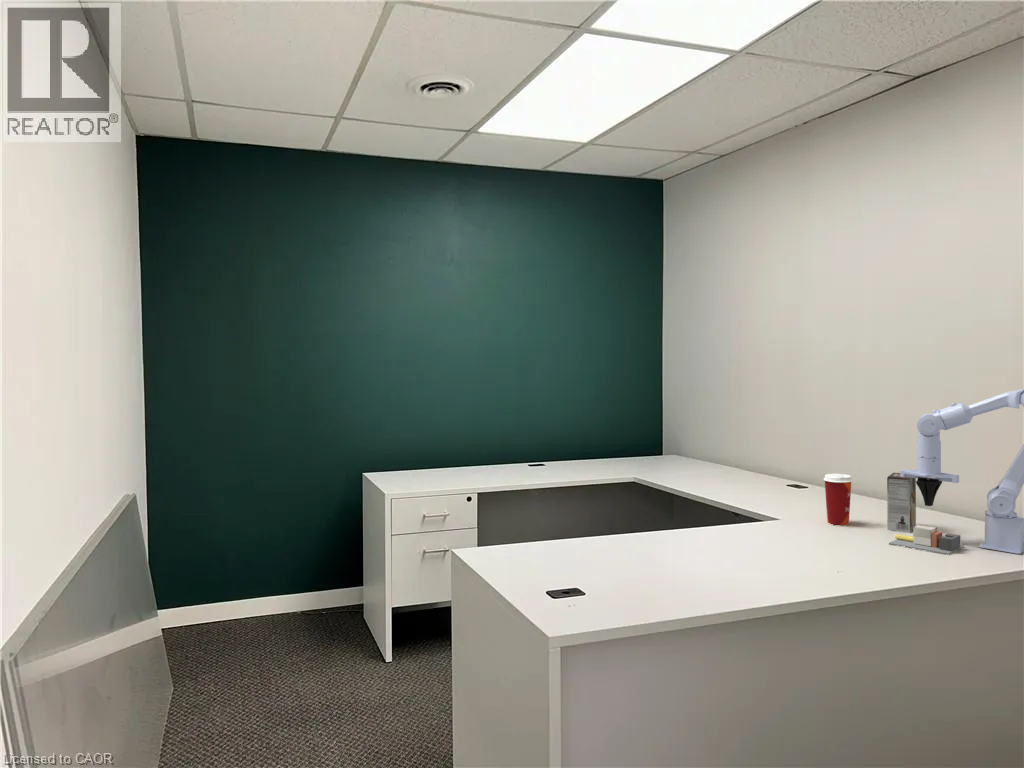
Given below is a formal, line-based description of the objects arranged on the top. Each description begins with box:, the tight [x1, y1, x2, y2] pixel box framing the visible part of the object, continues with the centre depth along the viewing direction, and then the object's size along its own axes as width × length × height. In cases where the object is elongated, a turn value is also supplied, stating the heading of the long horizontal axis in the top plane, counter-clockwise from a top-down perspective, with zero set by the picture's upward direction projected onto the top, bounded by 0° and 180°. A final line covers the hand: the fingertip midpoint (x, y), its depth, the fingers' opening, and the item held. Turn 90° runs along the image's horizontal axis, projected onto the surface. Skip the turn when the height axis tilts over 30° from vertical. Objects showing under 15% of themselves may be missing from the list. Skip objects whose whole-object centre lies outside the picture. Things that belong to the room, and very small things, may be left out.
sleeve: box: [912, 524, 938, 546], centre depth 203 cm, size 4×4×4 cm
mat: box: [888, 539, 965, 556], centre depth 203 cm, size 15×11×1 cm
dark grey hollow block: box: [939, 532, 961, 552], centre depth 199 cm, size 4×6×3 cm, turn 130°
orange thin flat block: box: [931, 530, 943, 548], centre depth 201 cm, size 1×4×4 cm, turn 130°
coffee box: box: [886, 472, 917, 533], centre depth 222 cm, size 9×6×16 cm
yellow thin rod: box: [894, 533, 939, 545], centre depth 204 cm, size 13×1×1 cm, turn 40°
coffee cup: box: [823, 473, 853, 526], centre depth 229 cm, size 8×8×15 cm
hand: (929, 505), depth 207 cm, fingers closed
